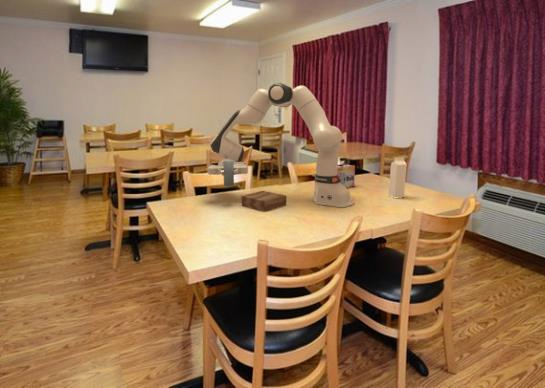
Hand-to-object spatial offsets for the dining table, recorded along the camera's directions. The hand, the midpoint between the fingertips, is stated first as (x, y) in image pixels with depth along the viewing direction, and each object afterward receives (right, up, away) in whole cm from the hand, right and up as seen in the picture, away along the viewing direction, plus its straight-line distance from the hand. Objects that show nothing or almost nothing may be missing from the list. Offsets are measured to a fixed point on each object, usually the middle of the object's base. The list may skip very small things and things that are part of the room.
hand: (228, 172), depth 193 cm
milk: (+90, -13, +24) cm, 94 cm away
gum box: (+61, -7, +46) cm, 76 cm away
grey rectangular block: (0, -6, +2) cm, 7 cm away
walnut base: (+17, -16, +4) cm, 24 cm away
